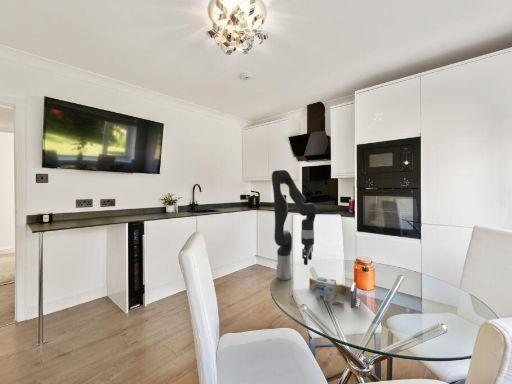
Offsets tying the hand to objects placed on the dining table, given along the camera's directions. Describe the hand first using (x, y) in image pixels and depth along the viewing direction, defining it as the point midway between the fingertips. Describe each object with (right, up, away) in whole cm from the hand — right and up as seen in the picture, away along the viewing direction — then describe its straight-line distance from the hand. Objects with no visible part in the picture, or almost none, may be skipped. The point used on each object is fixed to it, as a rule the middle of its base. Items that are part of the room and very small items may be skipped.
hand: (307, 262), depth 149 cm
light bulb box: (+10, -20, -3) cm, 23 cm away
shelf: (+12, -20, -3) cm, 24 cm away
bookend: (+25, -21, -10) cm, 34 cm away
